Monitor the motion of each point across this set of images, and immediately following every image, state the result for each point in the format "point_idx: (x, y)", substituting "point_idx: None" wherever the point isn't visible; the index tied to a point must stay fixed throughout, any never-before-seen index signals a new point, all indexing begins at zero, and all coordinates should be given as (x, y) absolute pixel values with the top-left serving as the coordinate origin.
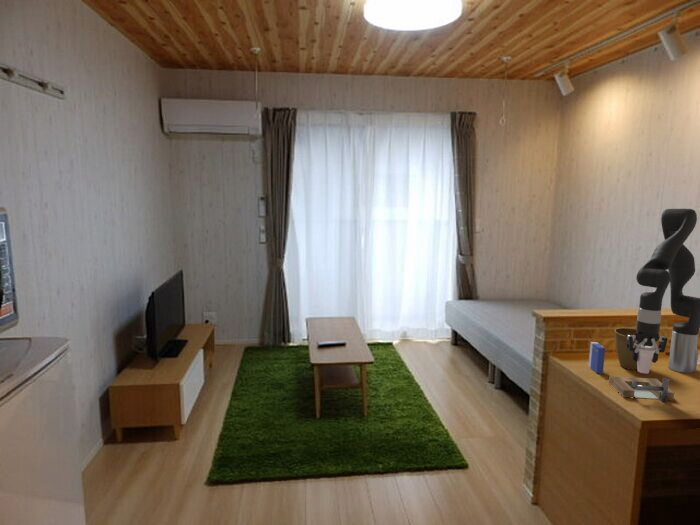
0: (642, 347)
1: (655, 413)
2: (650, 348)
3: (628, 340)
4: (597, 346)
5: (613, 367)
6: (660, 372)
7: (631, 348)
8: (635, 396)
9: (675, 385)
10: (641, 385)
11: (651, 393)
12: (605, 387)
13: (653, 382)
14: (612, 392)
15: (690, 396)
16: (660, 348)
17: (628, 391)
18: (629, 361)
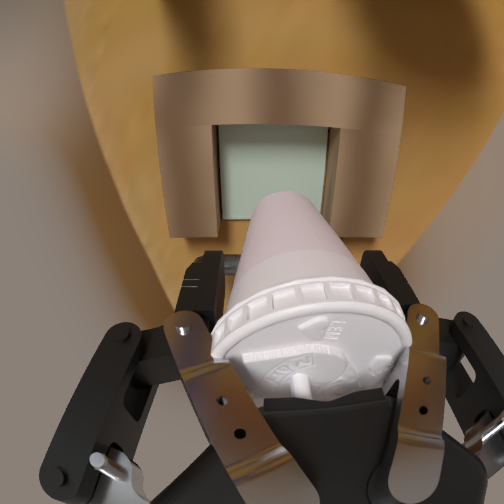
0: (275, 384)
1: None
2: (351, 390)
3: (84, 434)
4: None
5: None
6: None
7: (140, 390)
8: (230, 213)
9: (462, 90)
10: (236, 270)
11: (319, 175)
12: (134, 130)
13: (366, 130)
14: (150, 178)
15: (448, 185)
16: (455, 356)
17: (192, 235)
18: None
